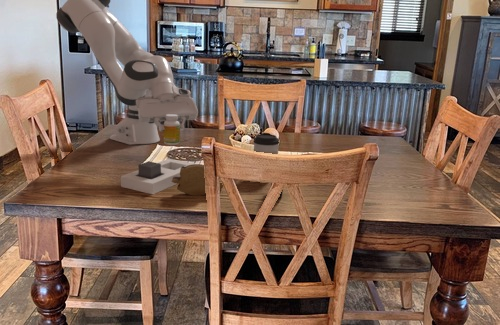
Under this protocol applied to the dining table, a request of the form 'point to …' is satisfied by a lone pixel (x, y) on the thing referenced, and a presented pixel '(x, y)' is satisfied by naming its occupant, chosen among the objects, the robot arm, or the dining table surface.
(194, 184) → the wooden carving
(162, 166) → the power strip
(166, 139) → the supplement bottle
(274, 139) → the coffee cup
